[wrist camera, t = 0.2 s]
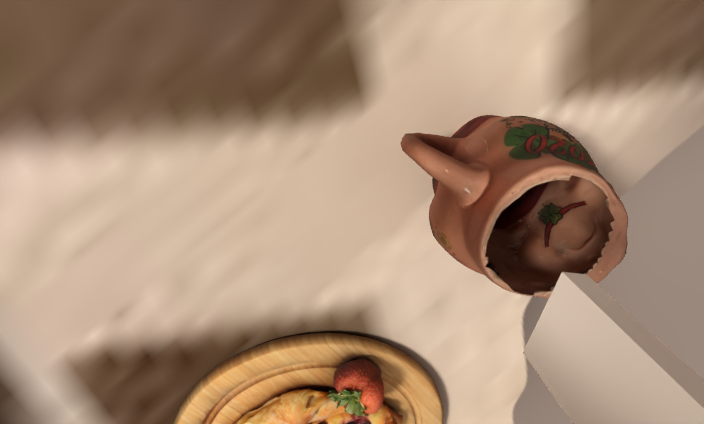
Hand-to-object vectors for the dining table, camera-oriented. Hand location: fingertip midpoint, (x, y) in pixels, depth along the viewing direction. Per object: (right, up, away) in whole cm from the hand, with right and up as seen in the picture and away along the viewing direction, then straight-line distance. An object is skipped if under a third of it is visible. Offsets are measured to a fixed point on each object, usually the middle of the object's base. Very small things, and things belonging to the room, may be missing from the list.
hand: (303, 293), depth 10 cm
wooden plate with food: (-4, -24, +44) cm, 50 cm away
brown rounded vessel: (+12, +7, +30) cm, 33 cm away
